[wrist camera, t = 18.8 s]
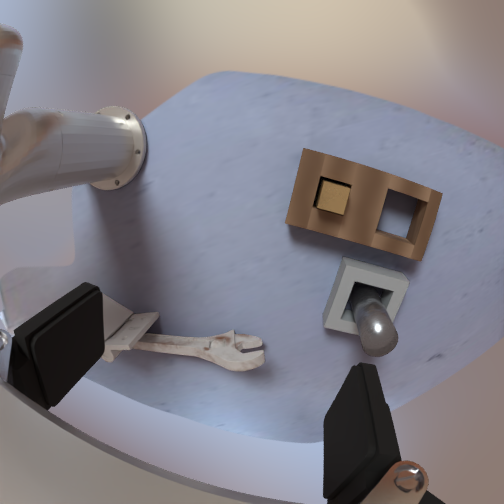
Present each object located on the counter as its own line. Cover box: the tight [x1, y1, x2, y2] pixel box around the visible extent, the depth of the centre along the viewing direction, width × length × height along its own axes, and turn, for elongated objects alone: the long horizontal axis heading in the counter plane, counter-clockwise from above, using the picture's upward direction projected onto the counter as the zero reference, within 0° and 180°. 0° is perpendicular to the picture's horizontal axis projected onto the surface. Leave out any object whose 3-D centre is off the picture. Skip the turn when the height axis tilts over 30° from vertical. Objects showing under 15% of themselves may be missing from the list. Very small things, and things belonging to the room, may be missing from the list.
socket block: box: [285, 148, 443, 261], centre depth 35 cm, size 18×9×4 cm, turn 77°
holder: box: [323, 256, 410, 335], centre depth 38 cm, size 9×9×4 cm
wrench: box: [132, 330, 265, 371], centre depth 44 cm, size 8×2×30 cm
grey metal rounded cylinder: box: [349, 282, 398, 357], centre depth 34 cm, size 4×4×12 cm
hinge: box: [101, 293, 159, 362], centre depth 43 cm, size 14×5×10 cm, turn 77°
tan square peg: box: [315, 179, 350, 215], centre depth 34 cm, size 3×3×5 cm
